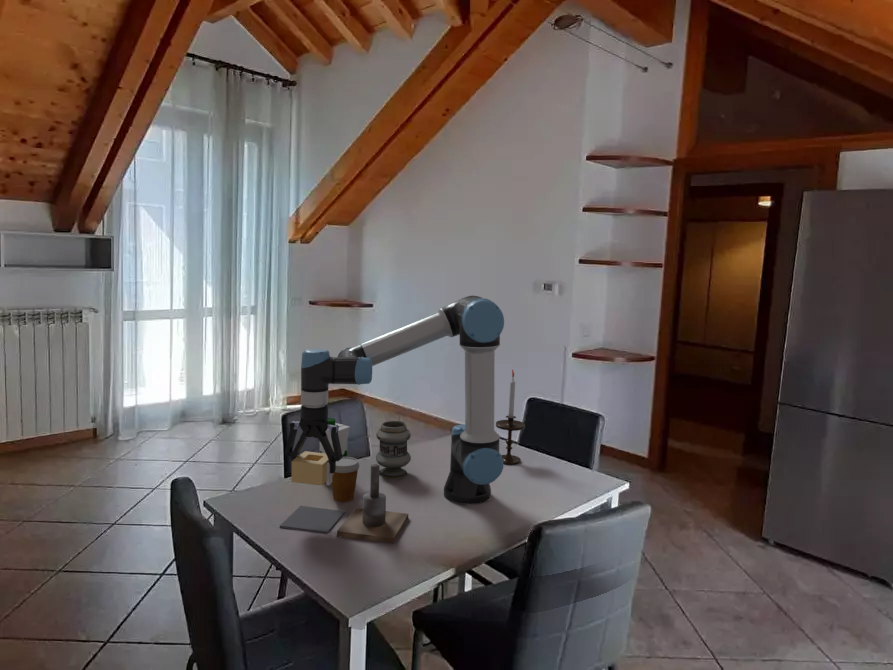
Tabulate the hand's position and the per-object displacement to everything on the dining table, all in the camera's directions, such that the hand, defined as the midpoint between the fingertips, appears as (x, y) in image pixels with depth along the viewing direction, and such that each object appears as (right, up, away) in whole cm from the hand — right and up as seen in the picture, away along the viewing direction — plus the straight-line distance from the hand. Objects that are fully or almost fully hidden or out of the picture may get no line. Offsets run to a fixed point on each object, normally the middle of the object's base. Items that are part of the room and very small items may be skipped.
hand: (313, 481), depth 181 cm
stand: (+17, -12, -2) cm, 21 cm away
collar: (0, +1, 0) cm, 1 cm away
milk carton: (0, -7, +34) cm, 35 cm away
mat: (0, -11, +2) cm, 11 cm away
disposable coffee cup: (+6, -10, +18) cm, 21 cm away
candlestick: (+61, -6, +58) cm, 85 cm away
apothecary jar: (+19, -7, +40) cm, 45 cm away
